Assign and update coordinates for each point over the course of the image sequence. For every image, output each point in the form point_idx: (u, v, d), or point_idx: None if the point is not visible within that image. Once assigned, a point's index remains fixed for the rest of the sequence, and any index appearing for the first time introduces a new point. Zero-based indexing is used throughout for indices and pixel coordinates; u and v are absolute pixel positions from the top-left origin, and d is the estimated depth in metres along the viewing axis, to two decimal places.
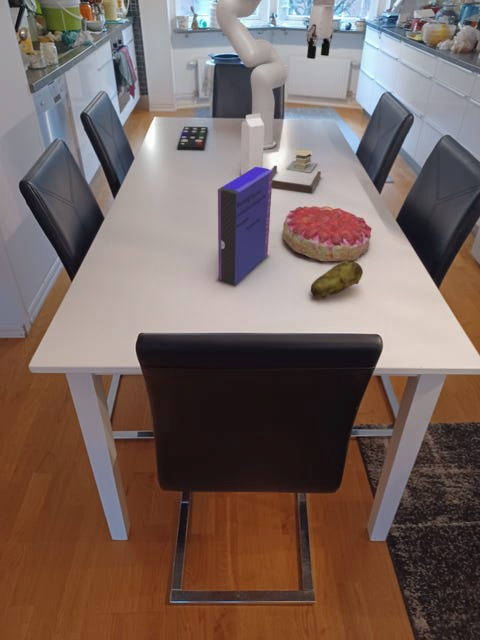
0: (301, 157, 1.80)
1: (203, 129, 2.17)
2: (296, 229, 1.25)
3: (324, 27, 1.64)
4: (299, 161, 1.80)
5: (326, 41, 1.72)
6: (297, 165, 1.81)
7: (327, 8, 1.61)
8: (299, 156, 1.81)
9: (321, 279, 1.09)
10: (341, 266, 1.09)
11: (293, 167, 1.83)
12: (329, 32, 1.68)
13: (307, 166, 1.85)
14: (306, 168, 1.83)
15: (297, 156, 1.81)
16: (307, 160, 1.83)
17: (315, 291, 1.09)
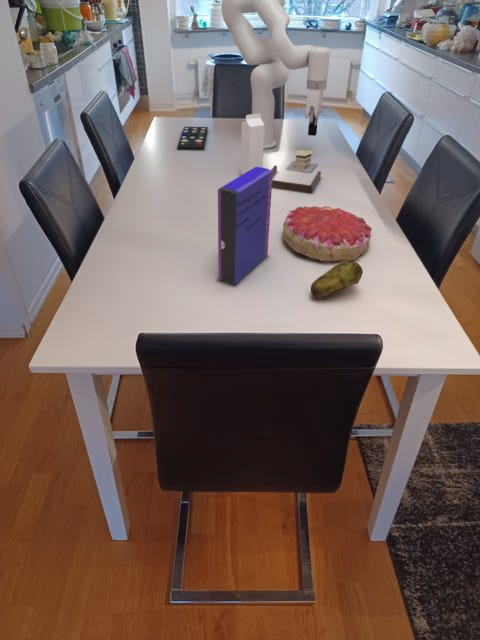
0: (301, 157, 1.80)
1: (203, 129, 2.17)
2: (296, 229, 1.25)
3: (319, 107, 1.79)
4: (299, 161, 1.80)
5: None
6: (297, 165, 1.81)
7: (321, 91, 1.76)
8: (299, 156, 1.81)
9: (321, 279, 1.09)
10: (341, 266, 1.09)
11: (293, 167, 1.83)
12: (320, 110, 1.83)
13: (307, 166, 1.85)
14: (306, 168, 1.83)
15: (297, 156, 1.81)
16: (307, 160, 1.83)
17: (314, 291, 1.09)
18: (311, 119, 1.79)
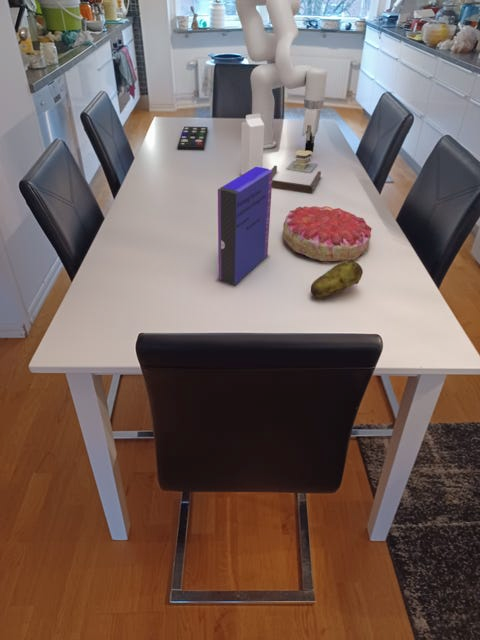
0: (301, 157, 1.80)
1: (203, 129, 2.17)
2: (296, 229, 1.25)
3: (316, 126, 1.82)
4: (299, 161, 1.80)
5: None
6: (297, 165, 1.81)
7: (318, 110, 1.79)
8: (299, 156, 1.81)
9: (321, 279, 1.09)
10: (341, 266, 1.09)
11: (293, 167, 1.83)
12: (317, 128, 1.86)
13: (307, 166, 1.85)
14: (306, 168, 1.83)
15: (297, 156, 1.81)
16: (307, 160, 1.83)
17: (315, 291, 1.09)
18: (308, 138, 1.82)
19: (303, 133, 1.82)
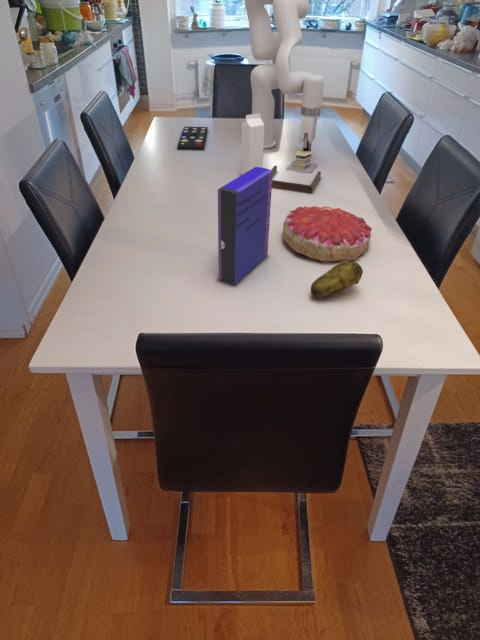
0: (301, 157, 1.80)
1: (203, 129, 2.17)
2: (296, 229, 1.25)
3: (313, 133, 1.79)
4: (299, 161, 1.80)
5: None
6: (297, 165, 1.81)
7: (315, 118, 1.76)
8: (299, 156, 1.81)
9: (321, 279, 1.09)
10: (341, 266, 1.09)
11: (293, 167, 1.83)
12: (314, 135, 1.84)
13: (307, 166, 1.84)
14: (306, 168, 1.82)
15: (297, 156, 1.81)
16: (307, 160, 1.82)
17: (315, 291, 1.09)
18: (305, 145, 1.79)
19: (300, 140, 1.79)
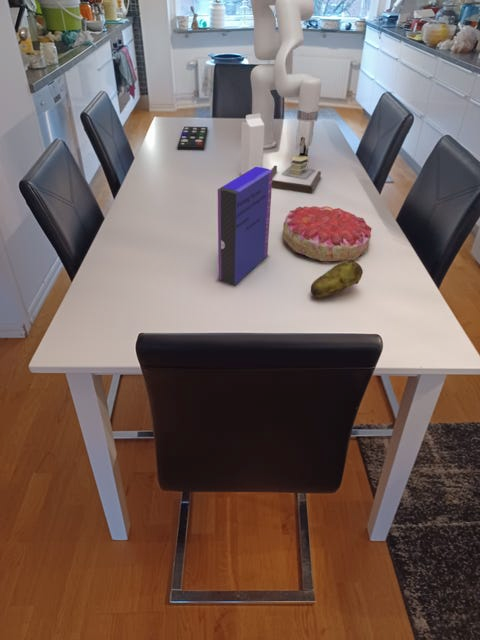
0: (297, 162, 1.75)
1: (203, 129, 2.17)
2: (296, 229, 1.25)
3: (310, 138, 1.74)
4: (295, 166, 1.75)
5: None
6: (292, 170, 1.76)
7: (312, 122, 1.71)
8: (295, 161, 1.76)
9: (321, 279, 1.09)
10: (341, 266, 1.09)
11: (289, 172, 1.78)
12: (311, 139, 1.79)
13: (303, 172, 1.79)
14: (302, 174, 1.77)
15: (293, 161, 1.76)
16: (303, 166, 1.77)
17: (315, 291, 1.09)
18: (302, 150, 1.74)
19: (296, 145, 1.74)
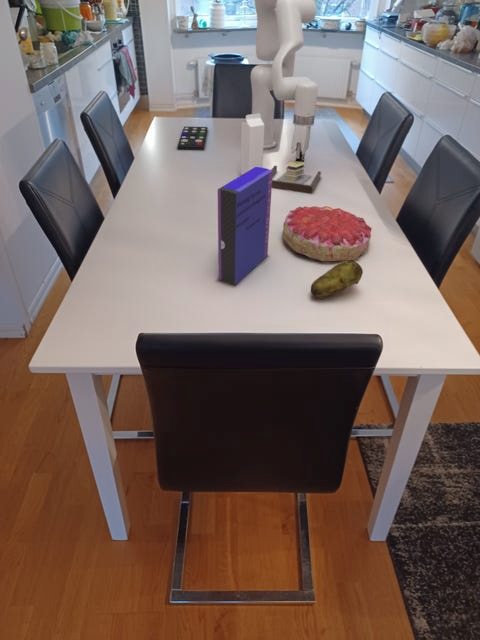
0: (292, 168, 1.70)
1: (203, 129, 2.17)
2: (296, 229, 1.25)
3: (307, 143, 1.69)
4: (290, 172, 1.70)
5: None
6: (288, 176, 1.71)
7: (309, 127, 1.66)
8: (290, 167, 1.71)
9: (321, 279, 1.09)
10: (341, 266, 1.09)
11: (284, 178, 1.73)
12: (308, 144, 1.73)
13: (299, 178, 1.74)
14: (298, 180, 1.72)
15: (288, 167, 1.71)
16: (299, 171, 1.72)
17: (315, 291, 1.09)
18: (298, 155, 1.69)
19: (292, 150, 1.69)
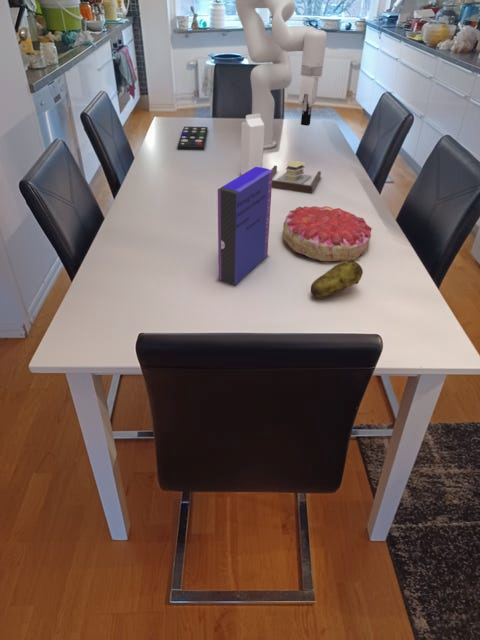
0: (292, 168, 1.70)
1: (203, 129, 2.17)
2: (296, 229, 1.25)
3: (314, 95, 1.67)
4: (290, 172, 1.70)
5: None
6: (288, 176, 1.71)
7: (316, 78, 1.64)
8: (290, 167, 1.71)
9: (321, 279, 1.09)
10: (341, 266, 1.09)
11: (284, 178, 1.73)
12: (315, 98, 1.71)
13: (299, 178, 1.74)
14: (297, 180, 1.72)
15: (288, 167, 1.71)
16: (299, 172, 1.72)
17: (315, 291, 1.09)
18: (304, 108, 1.67)
19: (299, 103, 1.67)
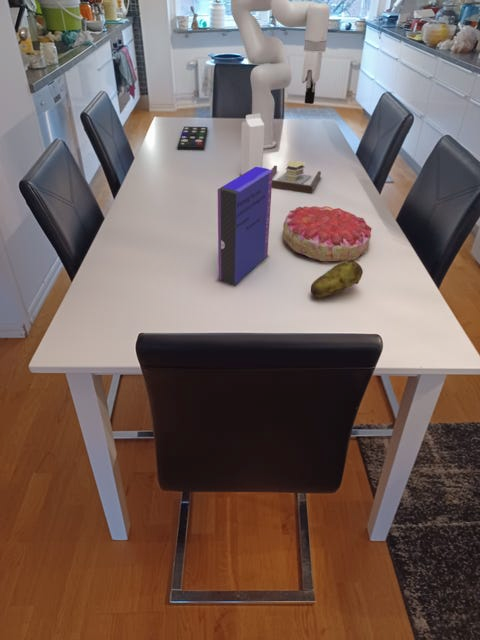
0: (292, 168, 1.70)
1: (203, 129, 2.17)
2: (296, 229, 1.25)
3: (318, 71, 1.63)
4: (290, 172, 1.70)
5: None
6: (288, 176, 1.71)
7: (320, 53, 1.60)
8: (290, 167, 1.71)
9: (321, 279, 1.09)
10: (341, 266, 1.09)
11: (284, 178, 1.73)
12: (319, 75, 1.68)
13: (299, 178, 1.74)
14: (297, 180, 1.72)
15: (288, 167, 1.71)
16: (299, 172, 1.72)
17: (315, 291, 1.09)
18: (308, 84, 1.64)
19: (303, 79, 1.63)
